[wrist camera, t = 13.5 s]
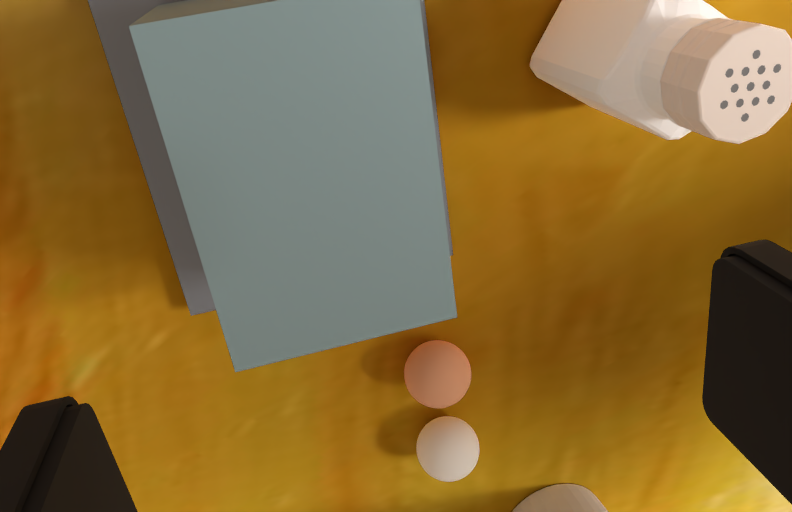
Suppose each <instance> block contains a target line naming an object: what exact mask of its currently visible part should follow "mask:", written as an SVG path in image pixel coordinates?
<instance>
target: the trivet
mask: <svg viewBox="0 0 792 512" xmlns="http://www.w3.org/2000/svg"><path fill="white" fill-rule="evenodd" d="M179 1H185V0H88V3H89V6H90V9H91V12H92V15H93V18H94V21H95V24H96V27H97V30H98V33H99V36H100V39H101V42H102V46H103V49H104V52H105V55H106V58H107V61H108V64H109V67H110V70H111V73H112V76H113V79H114V82H115V85H116V88H117V91H118V94H119V97H120V100H121V104H122V107H123V110H124V113H125V116H126V119H127V122H128V125H129V128H130V131H131V134H132V137H133V140H134V143H135V146H136V149H137V152H138V155H139V158H140V162H141V165H142V168H143V171H144V174H145V177H146V180H147V183H148V186H149V189H150V192H151V195H152V198H153V201H154V204H155V207H156V210H157V213H158V217H159V220H160V223H161V226H162V229H163V232H164V235H165V238H166V241H167V244H168V247H169V250H170V253H171V256H172V259H173V262H174V265H175V268H176V271H177V275H178V278H179V281H180V284H181V287H182V290H183V293H184V296H185V299H186V302H187V305H188V308H189V311H190V314H191V316H192V315H196V314H200V313H205V312H209V311H213V310H216V308H215V304H214V301H213V298H212V295H211V291H210V288H209V285H208V282H207V278H206V275H205V272H204V269H203V266H202V262H201V259H200V256H199V253H198V249H197V246H196V243H195V240H194V236H193V233H192V230H191V227H190V223H189V220H188V217H187V214H186V210H185V207H184V204H183V201H182V197H181V194H180V191H179V188H178V185H177V181H176V178H175V175H174V172H173V168H172V165H171V162H170V159H169V155H168V152H167V149H166V146H165V142H164V139H163V136H162V133H161V129H160V126H159V123H158V120H157V116H156V113H155V110H154V107H153V104H152V100H151V97H150V94H149V91H148V87H147V84H146V81H145V78H144V74H143V71H142V68H141V65H140V61H139V58H138V55H137V52H136V48H135V45H134V42H133V39H132V35H131V32H130V29H129V25H131V24H132V23H134V22H135V21H136V20H138V19H139V18H141V17H142V16H144V15H145V14H146V13H148V12H149V11H151V10H152V9H153V8H155V7H156V6H158V5H161V4H167V3H173V2H179ZM420 6H421V14H422V23H423V31H424V40H425V48H426V57H427V65H428V74H429V82H430V91H431V99H432V107H433V116H434V124H435V133H436V141H437V150H438V158H439V167H440V175H441V184H442V192H443V201H444V209H445V218H446V226H447V234H448V243H449V251H450V256H451V255H453V250H452V241H451V232H450V223H449V214H448V206H447V197H446V188H445V179H444V170H443V161H442V153H441V144H440V135H439V126H438V117H437V109H436V100H435V91H434V82H433V73H432V64H431V56H430V47H429V38H428V29H427V20H426V12H425V3H424V0H420Z"/></svg>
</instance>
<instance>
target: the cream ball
mask: <svg viewBox="0 0 792 512" xmlns="http://www.w3.org/2000/svg"><path fill="white" fill-rule="evenodd" d="M416 450H417V456H418V460H419V462H420V464H421V466H422V468H423V469H424V470H425V471H426V472H427V473H428V474H429V475H430V476H432V477H433V478H435V479H437V480H440V481H446V482H452V481H457V480H460V479H462V478H464V477H466V476H467V475H468V474H469V473H470V472H471V471H472V470H473V469H474V467H475V466H476V464H477V461H478V458H479V452H480V449H479V441H478V438H477V435H476V433H475V432H474V430H473V429H472V428H471V426H470V425H469V424H467V423H466V422H465V421H463V420H461V419H459V418H457V417H452V416H442V417H438V418H435V419H433V420H432V421H430V422H429V423H427V424H426V425H425V426H424V428H423V429H422V430H421V432H420V434H419V436H418V440H417V446H416Z"/></svg>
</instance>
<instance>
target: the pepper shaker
mask: <svg viewBox="0 0 792 512" xmlns="http://www.w3.org/2000/svg"><path fill="white" fill-rule="evenodd" d="M530 68H531V70H532V71H533V73H534V74H535V75H536V77H537V78H539V79H541V80H543V81H545V82H547V83H548V84H550V85H552V86H554V87H556V88H557V89H559V90H561V91H563V92H565V93H567V94H568V95H570V96H572V97H574V98H576V99H577V100H579V101H581V102H583V103H585V104H587V105H588V106H590V107H592V108H595V109H597V110H599V111H601V112H604V113H606V114H608V115H611V116H613V117H615V118H618V119H620V120H622V121H625V122H627V123H629V124H632V125H634V126H636V127H638V128H641V129H643V130H645V131H648V132H650V133H652V134H655V135H657V136H659V137H662V138H664V139H666V140H673V139H680V138H682V137H683V136H685V135H686V134H688V133H690V132H691V131H693V132H696V133H699V134H701V135H704V136H706V137H709V138H711V139H714V140H719V141H725V142H730V143H735V144H740V143H742V142H745V141H747V140H750V139H752V138H755V137H757V136H760V135H763V134H765V133H766V132H767V131H768V130H769V129H770V128H771V127H772V126H773V125H774V124H775V123H776V122H777V121H778V120H779V119H780V118H781V117H782V116H783V115H784V114H785V113H786V112H787V111H788V109H789V107H790V104H791V102H792V39H791V38H790V36H789V35H788V34H787V32H786V31H785V30H783V29H780V28H776V27H772V26H768V25H764V24H760V23H753V22H745V21H738V20H732V19H728V18H727V17H726V16H724V15H723V14H722V13H720V12H719V11H718V10H716V9H715V8H713V7H712V6H711V5H709V4H707V3H706V2H704V1H703V0H562V1H561V3H560V4H559V6H558V8H557V10H556V12H555V14H554V16H553V17H552V19H551V21H550V23H549V25H548V27H547V29H546V30H545V32H544V34H543V36H542V38H541V40H540V42H539V43H538V45H537V47H536V49H535V51H534V53H533V55H532V56H531V61H530Z"/></svg>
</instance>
